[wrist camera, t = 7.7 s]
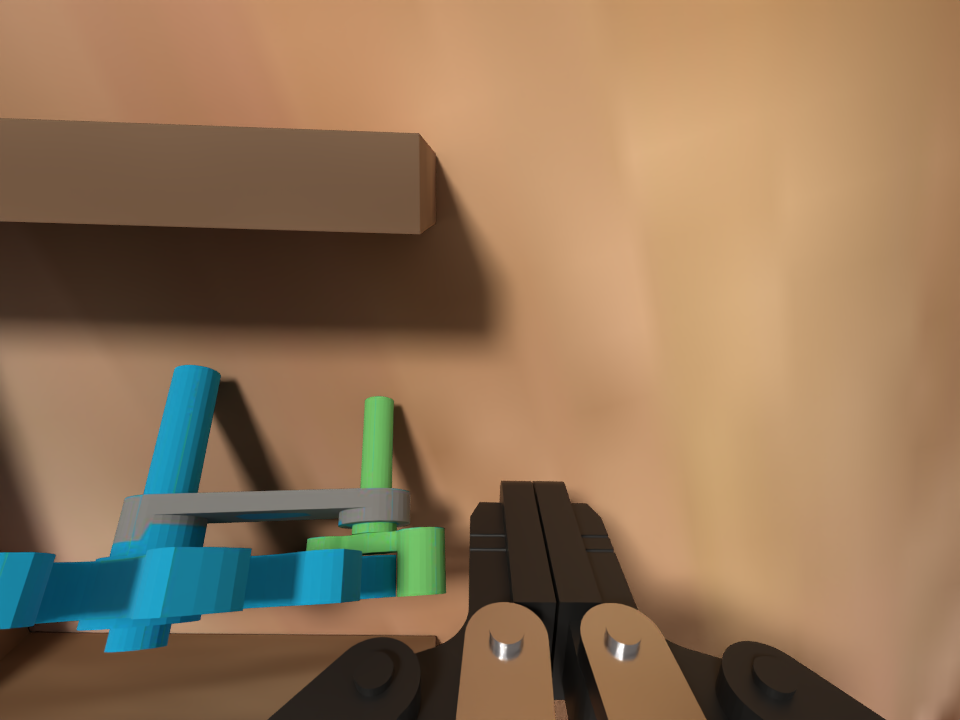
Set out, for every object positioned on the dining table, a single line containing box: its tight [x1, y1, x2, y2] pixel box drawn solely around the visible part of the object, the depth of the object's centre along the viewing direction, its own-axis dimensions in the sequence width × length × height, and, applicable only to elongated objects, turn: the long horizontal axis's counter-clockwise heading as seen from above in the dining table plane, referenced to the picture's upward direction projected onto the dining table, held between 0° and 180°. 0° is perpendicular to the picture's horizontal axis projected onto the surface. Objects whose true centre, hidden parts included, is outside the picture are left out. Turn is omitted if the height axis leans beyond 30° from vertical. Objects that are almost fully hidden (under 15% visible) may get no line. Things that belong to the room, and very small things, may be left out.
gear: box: [0, 365, 446, 652], centre depth 10 cm, size 11×6×10 cm
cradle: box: [0, 118, 436, 720], centre depth 11 cm, size 16×14×4 cm
